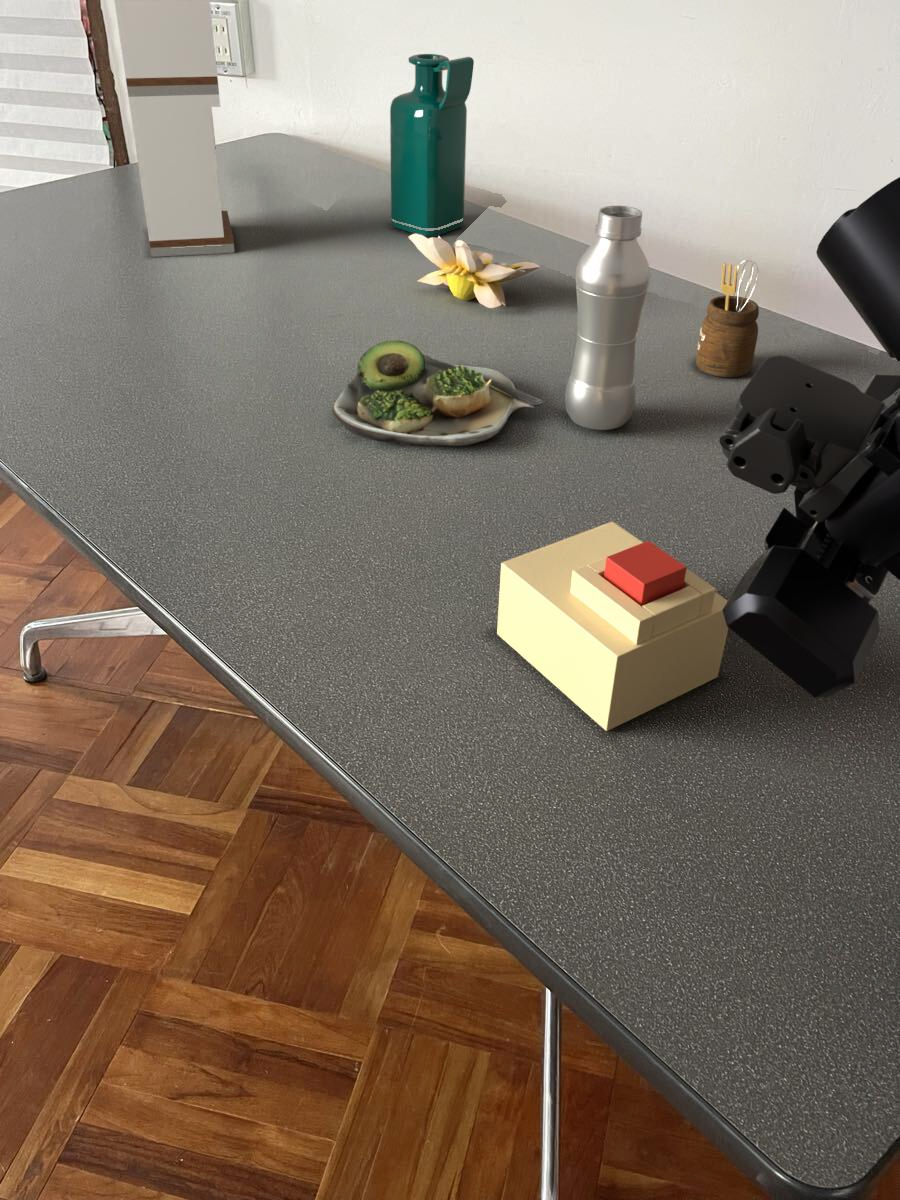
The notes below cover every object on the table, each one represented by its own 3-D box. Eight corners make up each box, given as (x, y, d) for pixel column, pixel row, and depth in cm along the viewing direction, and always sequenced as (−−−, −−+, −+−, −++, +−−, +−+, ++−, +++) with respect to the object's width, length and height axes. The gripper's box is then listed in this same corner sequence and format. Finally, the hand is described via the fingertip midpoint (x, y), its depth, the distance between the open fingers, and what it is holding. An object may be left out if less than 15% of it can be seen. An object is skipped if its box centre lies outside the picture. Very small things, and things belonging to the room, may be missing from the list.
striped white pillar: (234, 252, 141) (204, -59, 120) (151, 256, 139) (105, -59, 118) (228, 225, 150) (199, -69, 129) (150, 229, 148) (107, -69, 127)
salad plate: (555, 384, 110) (558, 342, 107) (521, 466, 96) (524, 420, 93) (375, 362, 114) (374, 320, 111) (317, 438, 100) (314, 392, 97)
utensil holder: (759, 365, 115) (781, 253, 108) (736, 385, 111) (758, 270, 104) (707, 351, 118) (726, 242, 111) (684, 370, 114) (702, 258, 107)
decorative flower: (564, 285, 128) (553, 205, 122) (503, 331, 123) (488, 250, 117) (473, 262, 137) (458, 187, 131) (413, 304, 132) (394, 228, 126)
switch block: (718, 677, 73) (739, 582, 68) (606, 731, 69) (620, 633, 64) (603, 590, 81) (615, 499, 76) (496, 634, 77) (502, 540, 72)
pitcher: (385, 226, 151) (382, 53, 138) (424, 213, 156) (425, 45, 143) (437, 242, 146) (440, 64, 133) (476, 228, 151) (482, 55, 138)
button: (683, 589, 68) (687, 566, 67) (640, 607, 67) (644, 584, 66) (644, 562, 71) (648, 540, 70) (603, 579, 69) (606, 556, 68)
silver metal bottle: (636, 439, 101) (666, 224, 89) (565, 437, 101) (585, 222, 89) (627, 408, 106) (654, 201, 94) (559, 407, 106) (577, 199, 94)
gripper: (889, 221, 51) (710, 407, 64) (735, 449, 41) (560, 614, 54) (1071, 370, 51) (854, 525, 64) (961, 634, 41) (731, 754, 54)
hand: (755, 594), depth 59 cm, fingers closed
